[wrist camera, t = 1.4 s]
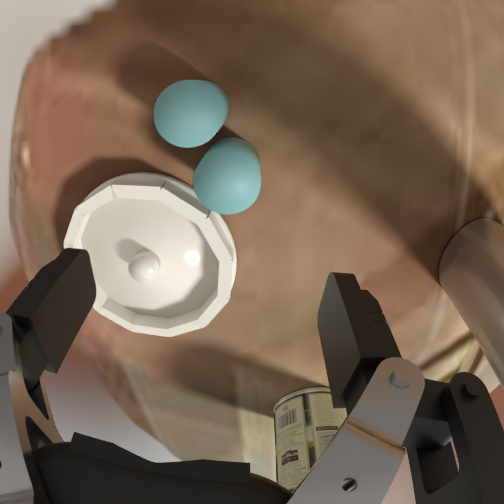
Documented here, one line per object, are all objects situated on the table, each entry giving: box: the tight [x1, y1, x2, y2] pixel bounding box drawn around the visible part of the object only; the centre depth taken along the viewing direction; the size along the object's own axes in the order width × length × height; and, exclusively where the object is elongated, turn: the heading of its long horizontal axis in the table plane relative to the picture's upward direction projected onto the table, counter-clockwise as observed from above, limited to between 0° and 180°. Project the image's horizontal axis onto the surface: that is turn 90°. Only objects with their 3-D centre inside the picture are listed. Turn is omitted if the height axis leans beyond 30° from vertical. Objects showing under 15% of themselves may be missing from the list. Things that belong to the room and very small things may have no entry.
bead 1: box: [153, 80, 230, 148], centre depth 18 cm, size 4×4×4 cm
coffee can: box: [273, 387, 347, 492], centre depth 32 cm, size 10×10×14 cm
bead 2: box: [193, 137, 261, 214], centre depth 20 cm, size 4×4×4 cm
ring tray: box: [64, 172, 237, 337], centre depth 25 cm, size 15×15×2 cm
